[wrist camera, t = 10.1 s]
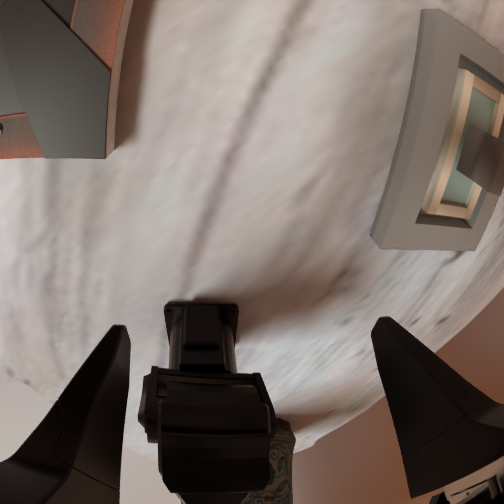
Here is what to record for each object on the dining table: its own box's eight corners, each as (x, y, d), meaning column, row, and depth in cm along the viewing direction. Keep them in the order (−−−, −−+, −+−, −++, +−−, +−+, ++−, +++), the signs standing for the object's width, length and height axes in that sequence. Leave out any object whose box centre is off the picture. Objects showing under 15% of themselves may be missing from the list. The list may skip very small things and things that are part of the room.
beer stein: (280, 440, 53) (301, 542, 33) (188, 444, 49) (197, 552, 29) (303, 411, 44) (334, 543, 24) (184, 417, 40) (195, 563, 20)
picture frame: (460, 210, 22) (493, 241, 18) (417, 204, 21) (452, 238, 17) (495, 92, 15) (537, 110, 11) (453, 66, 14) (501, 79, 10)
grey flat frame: (464, 239, 25) (474, 251, 24) (369, 234, 23) (380, 249, 21) (514, 73, 14) (529, 78, 13) (421, 9, 12) (438, 8, 10)
